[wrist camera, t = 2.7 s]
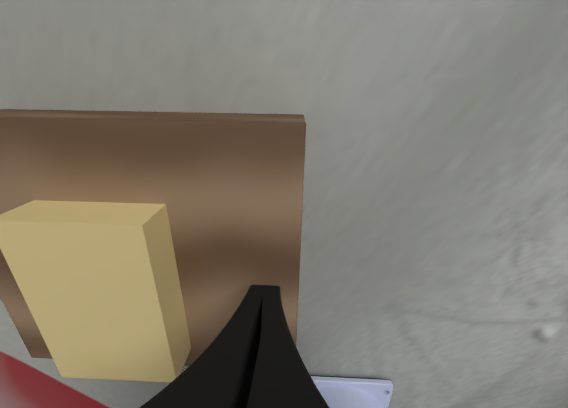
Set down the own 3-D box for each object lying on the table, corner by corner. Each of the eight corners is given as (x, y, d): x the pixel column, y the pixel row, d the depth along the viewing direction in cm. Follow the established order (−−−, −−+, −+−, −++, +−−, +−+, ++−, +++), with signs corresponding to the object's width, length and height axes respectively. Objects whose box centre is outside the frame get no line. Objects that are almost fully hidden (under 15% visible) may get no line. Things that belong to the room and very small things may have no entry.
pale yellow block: (191, 347, 15) (177, 382, 14) (89, 343, 16) (61, 377, 14) (165, 204, 12) (141, 225, 10) (33, 200, 12) (-14, 220, 10)
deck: (295, 317, 20) (294, 370, 16) (80, 308, 20) (31, 357, 16) (303, 114, 14) (305, 124, 10) (5, 109, 14) (-94, 116, 11)
